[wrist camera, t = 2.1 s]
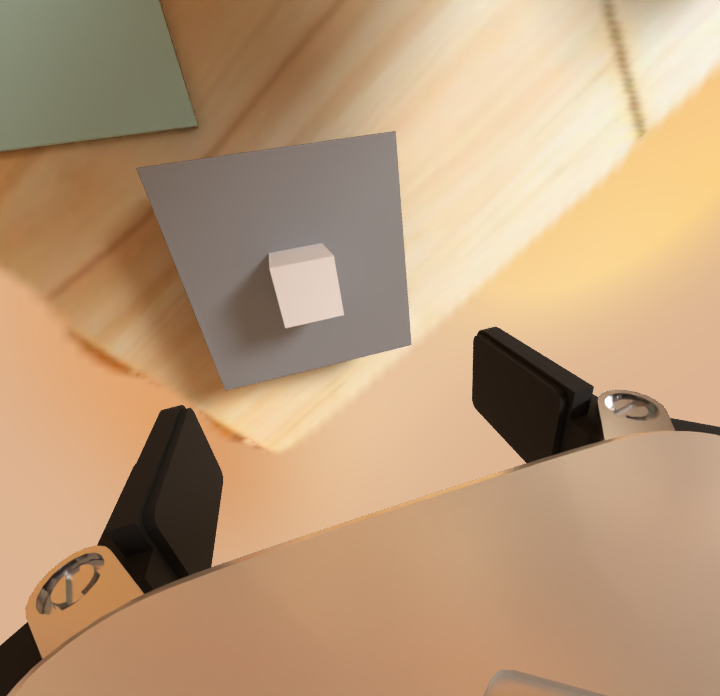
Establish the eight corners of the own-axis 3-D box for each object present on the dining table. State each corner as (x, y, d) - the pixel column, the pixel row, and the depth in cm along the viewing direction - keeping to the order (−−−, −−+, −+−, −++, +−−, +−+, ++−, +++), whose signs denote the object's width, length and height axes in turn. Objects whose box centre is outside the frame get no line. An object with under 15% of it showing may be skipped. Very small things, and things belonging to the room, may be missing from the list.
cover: (378, 137, 27) (425, 119, 19) (396, 328, 35) (434, 371, 27) (154, 169, 24) (101, 164, 16) (229, 368, 32) (218, 428, 24)
